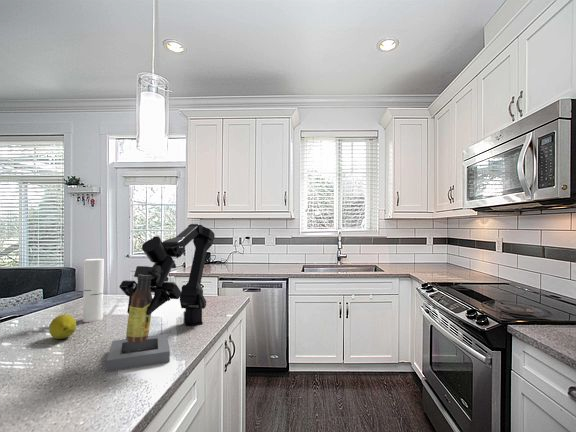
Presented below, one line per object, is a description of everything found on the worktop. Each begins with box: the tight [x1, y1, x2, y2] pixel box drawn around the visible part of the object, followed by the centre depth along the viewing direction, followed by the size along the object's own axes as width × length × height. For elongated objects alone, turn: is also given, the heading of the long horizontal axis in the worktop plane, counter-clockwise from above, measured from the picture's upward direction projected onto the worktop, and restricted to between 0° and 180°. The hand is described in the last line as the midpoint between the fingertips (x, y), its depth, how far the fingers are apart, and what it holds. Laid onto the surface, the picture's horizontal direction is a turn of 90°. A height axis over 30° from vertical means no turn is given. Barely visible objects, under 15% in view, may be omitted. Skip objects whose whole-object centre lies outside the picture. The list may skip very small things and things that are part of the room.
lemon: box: [48, 314, 77, 340], centre depth 110 cm, size 11×8×8 cm
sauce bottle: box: [125, 274, 153, 343], centre depth 96 cm, size 7×6×20 cm
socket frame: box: [105, 333, 171, 373], centre depth 95 cm, size 16×16×3 cm
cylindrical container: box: [82, 258, 105, 323], centre depth 132 cm, size 7×7×25 cm
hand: (137, 313), depth 94 cm, fingers closed on sauce bottle, 6 cm apart
